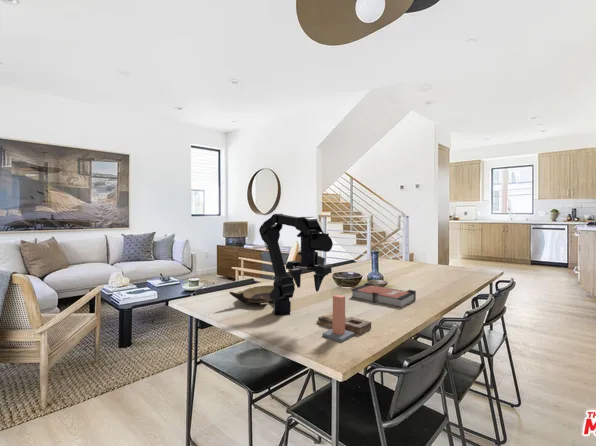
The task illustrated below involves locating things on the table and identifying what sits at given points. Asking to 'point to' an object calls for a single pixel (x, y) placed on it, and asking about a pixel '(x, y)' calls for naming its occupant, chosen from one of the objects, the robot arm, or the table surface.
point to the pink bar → (338, 314)
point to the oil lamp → (254, 294)
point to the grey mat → (338, 337)
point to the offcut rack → (346, 323)
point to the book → (384, 295)
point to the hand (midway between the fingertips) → (307, 289)
